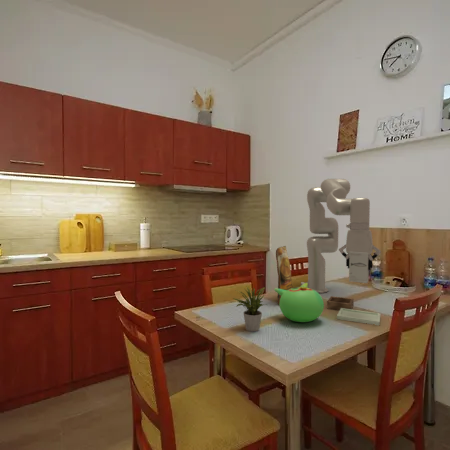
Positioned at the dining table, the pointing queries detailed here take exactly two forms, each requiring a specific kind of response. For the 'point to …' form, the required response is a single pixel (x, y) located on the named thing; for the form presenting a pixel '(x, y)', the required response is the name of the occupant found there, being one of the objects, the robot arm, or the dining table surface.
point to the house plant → (252, 309)
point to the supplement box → (358, 267)
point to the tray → (359, 316)
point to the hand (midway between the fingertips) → (359, 268)
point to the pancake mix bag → (283, 270)
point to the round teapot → (300, 303)
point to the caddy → (340, 303)
